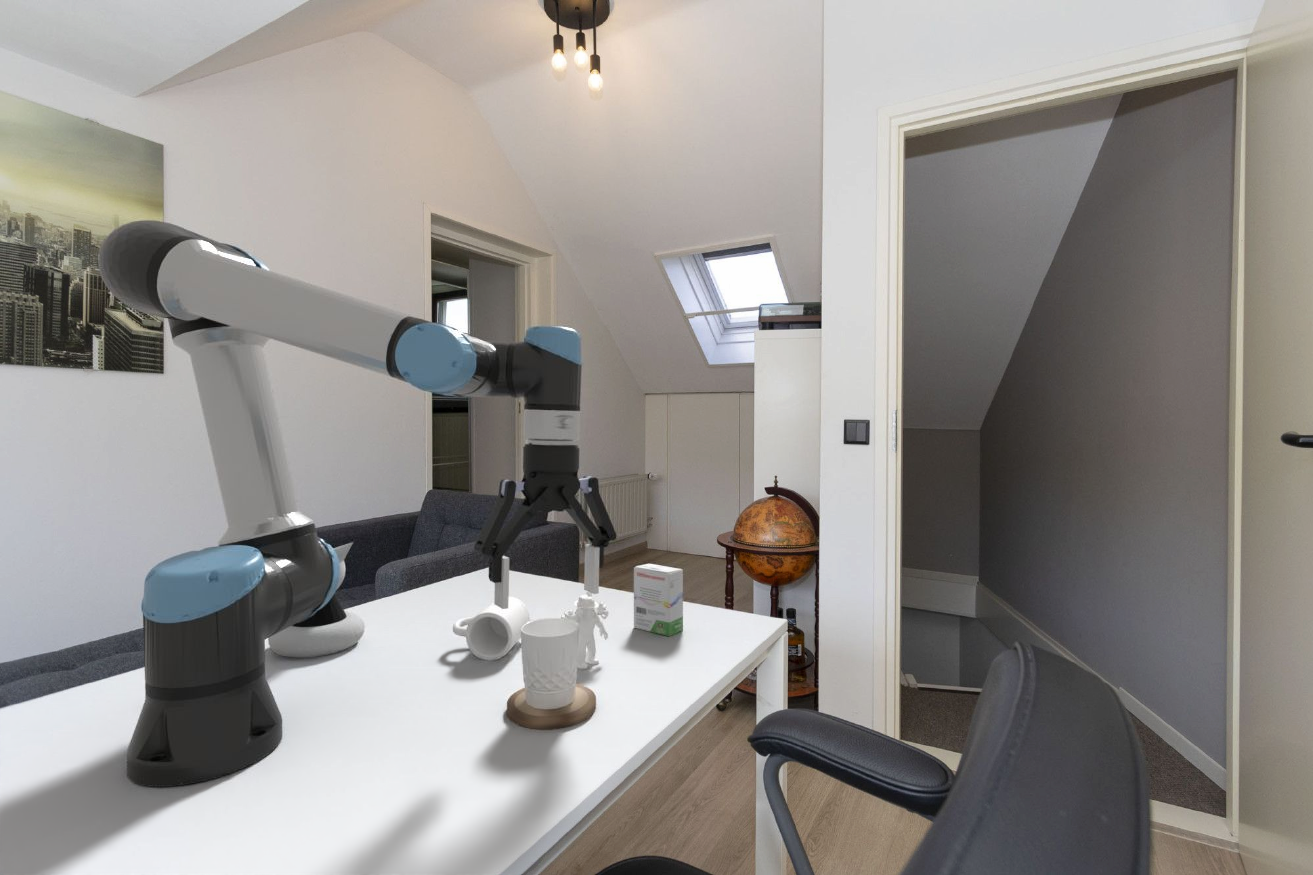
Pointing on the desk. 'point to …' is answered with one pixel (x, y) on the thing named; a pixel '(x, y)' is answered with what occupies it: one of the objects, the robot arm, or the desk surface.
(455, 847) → the desk surface
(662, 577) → the ink box
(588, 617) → the flower shoulder figurine
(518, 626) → the mug
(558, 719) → the coaster
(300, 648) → the decorative figurine
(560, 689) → the white cup
